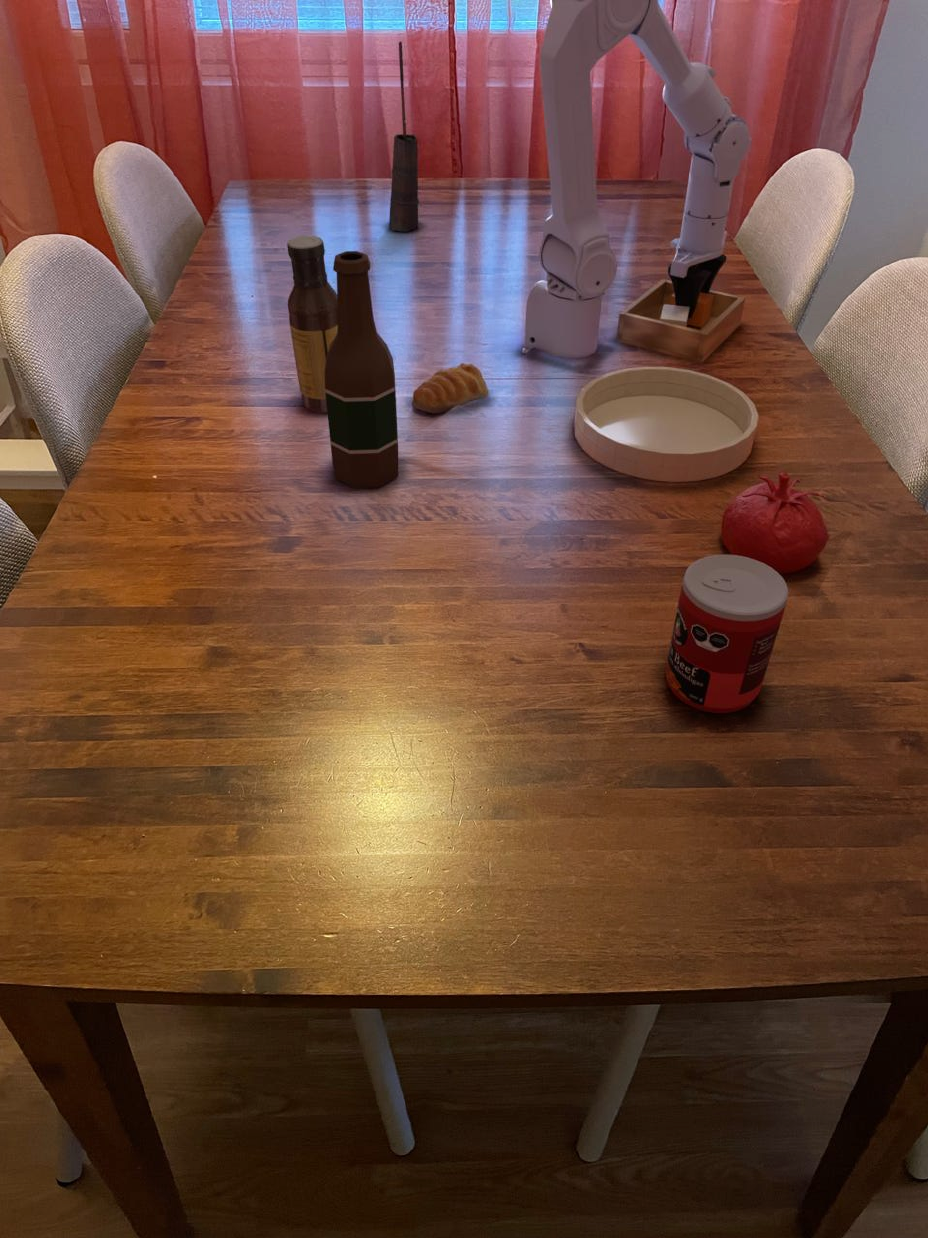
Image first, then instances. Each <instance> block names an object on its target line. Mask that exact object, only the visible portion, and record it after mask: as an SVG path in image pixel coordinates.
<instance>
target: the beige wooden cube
mask: <svg viewBox="0 0 928 1238" xmlns="http://www.w3.org/2000/svg"><path fill="white" fill-rule="evenodd" d="M689 308H690V307H685V306H676V305H666V304H664V307H663V311H662V315H661V318H660V321H663V322H667V323H671V324H675V325H679V326H684V327H687V320H688V314H689Z"/></svg>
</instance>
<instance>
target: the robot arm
mask: <svg viewBox="0 0 928 1238" xmlns="http://www.w3.org/2000/svg"><path fill="white" fill-rule="evenodd" d="M549 12H550V13H549V16H548V20H547V23H546V28H545V32H544V36H543V40H542V44H541V47H540V52H539V70H540V81H541V83H540V84H541V95H542V105H543V106H542V107H543V116H544V117H543V118H544V129H545V141H546V152H547V163H548V174H549V187H550V198H551V199H550V200H551V210H552V214H551V215H550V216H549V217H547V218H546V219H545V220H544V222H542V239H541V242H540V246H539V250H538V261H539V264H540V266H541V268H542V270H543V271H545V272H546V276H545V280H544V279H540V280H538V281H537V282H535V284H534V285H533V286H532V288H531V289H530V291H529V293H528V296H527V301H526V305H525V306H526V307H525V322H524V323H525V324H524V325H525V326H524V344H523V346H524V347H523V348H521V353H522V354H523V355H526V354H527V353H528V352H530V351H531V350H533V349H537V350H541V351H543V352H546V353H548V354H550V355H551V356H555V357H558V358H563V359H583V358H587V357H590V356H591V355H593V354H595V353H596V351H597V349H598V342H599V331H600V321H601V311H602V302H603V296H605V294H606V291H607V290H608V289H609V288H610V286H611V285H612V284H613V282H614V279H615V278H616V274H617V269H618V260H617V257H616V254H615V253H614V251H613V250H612V248H611V244H610V243H611V242H610V234H609V231H608V229H607V227H606V226H605V224H604V221H603V220H602V218H601V216H600V214H599V213H598V200H597V197H598V196H597V177H596V160H595V143H594V141H595V140H594V122H593V121H594V120H593V103H592V84H591V71H592V70H593V68H594V67H595V66H596V64H597V63H598V61H600V60H601V59H602V58H603V57H604V56H605V55H607V54H608V53H609V52H610V51H612V49H614V48H615V47H616V46H617V45H619V44H620V43H621V42H622V41H623V40H625V39H626V38H627V37H629V38H630V39H631V40H632V42H633V44H634V45H635V46H636V47H637V48H638V50H639V51H640V52H641V54H642V55H643V56H644V58H645V59H646V60H647V62H648V63H649V65H651V67H652V68H653V70H654V71H655V72H656V74H657V75H658V77H660V79H661V80H662V81H663V83H664V84H663V85H664V86H663V89H662V101H663V103H664V104H665V105H666V107H667V109H668V110H669V111H670V113H671V114H672V116H673V117H674V118H675V120H676V122H677V123H678V125H679V126H680V128H681V129H682V131H683V132H684V134H683V143H684V147H685V150H688V151H689V152H690V153H691V154H692V155H691V160H690V161H691V162H690V168H689V174H688V181H687V182H688V183H687V188H686V189H687V190H686V195H685V200H684V201H685V202H684V208H683V214H682V222H681V229H680V236H679V237H676V238H674V239H672V240H671V241H670V248H673V249H676V250H675V256H674V258H673V259H672V260H671V262H670V263H669V264H668V266H667V274H668V276H669V278H670V281H672V284H673V288H674V294H675V304H676V306H685V307H690V308H689V314H688V318H691V317H692V315H693V313H694V311H695V308H696V305H697V301H698V298H699V295H700V292H702V293H706V294H708V293H709V291H710V290H711V288H712V286H713V283H714V281H715V279H716V277H717V275H718V273H719V272H720V271H721V269H722V267H723V266H724V265H725V263H726V262H727V255H726V254H723V252H724V246H725V245H726V239H727V233H728V231H726V226H727V221H728V216H729V210H730V205H731V199H732V194H733V193H732V192H733V187H734V182H735V179H736V178H737V176H738V175H739V172H740V166H741V164H742V162H743V160H744V158H745V157H746V156H747V155H748V153H749V150H750V148H751V146H752V142H753V139H752V138H751V137H750V130H749V126H748V124H747V122H746V120H745V119H744V118H743V117H742V116H740V115H736V114H733V111H732V108H731V106H732V102H731V100H730V99H729V97H726V96H724V95H723V93H722V92H721V90H720V88H719V87H718V86H717V84H716V82H715V81H714V78H715V77H716V72H715V70H714V69H713V67H712V66H709V65H706V64H704V63H701V62H698V61H693V62H690V60H689V58H688V57H687V55H686V53H685V50H684V49H683V47H682V45H681V44H680V42H679V40H678V38H677V35H676V34H675V32H674V30H673V28H672V26H671V25H670V23H669V20H668V19H667V17H666V15H665V13H664V11H663V9H662V7H661V6H660V3H659V0H550V11H549Z"/></svg>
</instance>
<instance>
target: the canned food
mask: <svg viewBox="0 0 928 1238" xmlns="http://www.w3.org/2000/svg"><path fill="white" fill-rule="evenodd" d="M680 587H681V588H680V592H679V598H678V603H677V607H676V608H677V609H676V613H675V619H674V624H673V629H672V634H671V639H670V645H669V650H668V655H667V660H666V664H665V677H666V681H667V685H668V686H669V689H670V690H671V692H672V693H673V695H675V697H677V698H678V700H679V701H681V702H682V703H684V704H686V705H687V706H690V707H692V708H694V709H696V710H699V711H702V712H707V713H711V714H730V713H734V712H739V711H741V710H743V709H745V708H747V707H748V706H750V705H751V704H752V702H754V700H755V699H756V698H757V696H758V695H759V693H760V692H761V689H762V686H763V683H764V680H765V676H766V673H767V670H768V667H769V664H770V659H771V656H772V653H773V650H774V646H775V643H776V639H777V636H778V633H779V630H780V626H781V624H782V620H783V616H784V614H785V609H786V605H787V601H788V595H789V590H788V585H787V583H786V580H785V579H784V578H783V576H782V575H781V574H779V573H778V572H776V571H775V570H774V569H772V568H771V567H769V566H767V565H766V564H764V563H762V562H759V561H757V560H754V559H751V558H747V557H743V556H737V555H731V554H714V555H708V556H705V557H701V558H699V559H697V560H695V561H694V562H693V563H691V564H690V565H689V566H688V567H687V569H686V571H685V573H684V576H683V579H682V584H681V586H680Z"/></svg>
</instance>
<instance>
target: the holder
mask: <svg viewBox="0 0 928 1238" xmlns="http://www.w3.org/2000/svg"><path fill="white" fill-rule="evenodd" d="M673 294H674V288H673V284H672V281H671V280H670V279H669V280H668V279H665V278H662V279H661V280H659V281H657V283H656V284H654V286H652V287H651V288H649V289H648V290H647V291H646V292H644V293H643V294H642V295H640V296H639V297H638V298H637V299H636V300H634V301H633V302H632V303H630V304H629V305H628V306H627V307H625V308H624V309H623V310H622V311H620V312H619V314H618V321H617V322H618V323H617V330H616V331H617V332H616V339H615V341H616V342H619V343H623V344H626V345H631V346H634V347H638V348H641V349H646V350H648V351H649V350H650V351H653V352H657V353H661V354H665V355H668V356H671V357H672V356H673V357H677V358H680V359H685V360H688V361H691V362H696V363H700V364H703V363H704V362H705V361H706V360H707V359H708V358H709V357H710V356H711V355H712V354H713V353H714V352H715V351H716V350H717V349H718V348H719V347H721V345H722V344H723V343H724V342H725V341H726V340H727V339H728V338H729V337H730V336H731V335H732V334H733V333H734V332H735V331H736V330H737V329H738V328H739V327H740V326H741V322H742V319H743V312H744V308H745V307H744V306H745V302H746V297H744V296H740V295H736V294H732V293H726V292H722V291H719V290H714V289H710V291H709V293H708V294H711V295H714V296H713V302H712V307H711V313H710V318H709V320H708V321H707V322H706V323H705V324H704V325H703V326H702V327H701V328H700V327H696V326H692V325H687V327H684V326H679V325H675V324H671V323H667V322H663V321H660V318H661V315H662V311H663V307H664V304H666V305H670V300H671V296H672V295H673Z"/></svg>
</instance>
